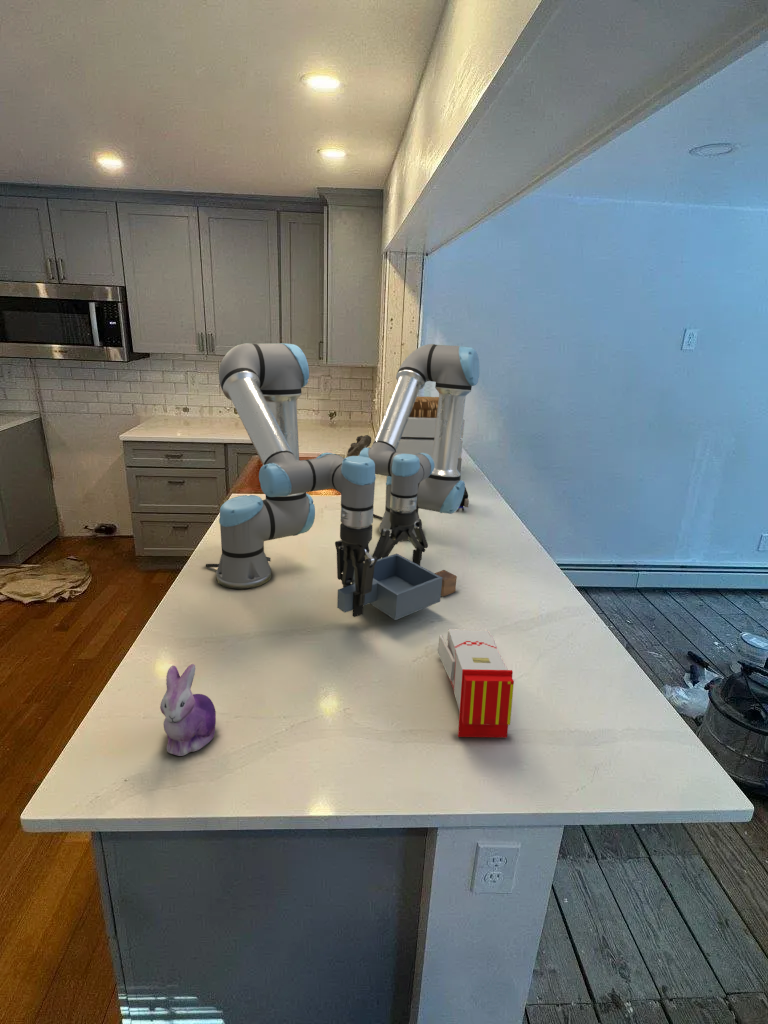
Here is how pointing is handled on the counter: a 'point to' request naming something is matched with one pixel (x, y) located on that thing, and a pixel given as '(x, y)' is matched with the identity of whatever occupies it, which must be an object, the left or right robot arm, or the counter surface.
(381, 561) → the tray
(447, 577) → the walnut block
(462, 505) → the figurine character
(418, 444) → the white crate
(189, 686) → the figurine
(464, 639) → the toy
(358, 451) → the fossil
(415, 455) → the right robot arm
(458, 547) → the counter surface
